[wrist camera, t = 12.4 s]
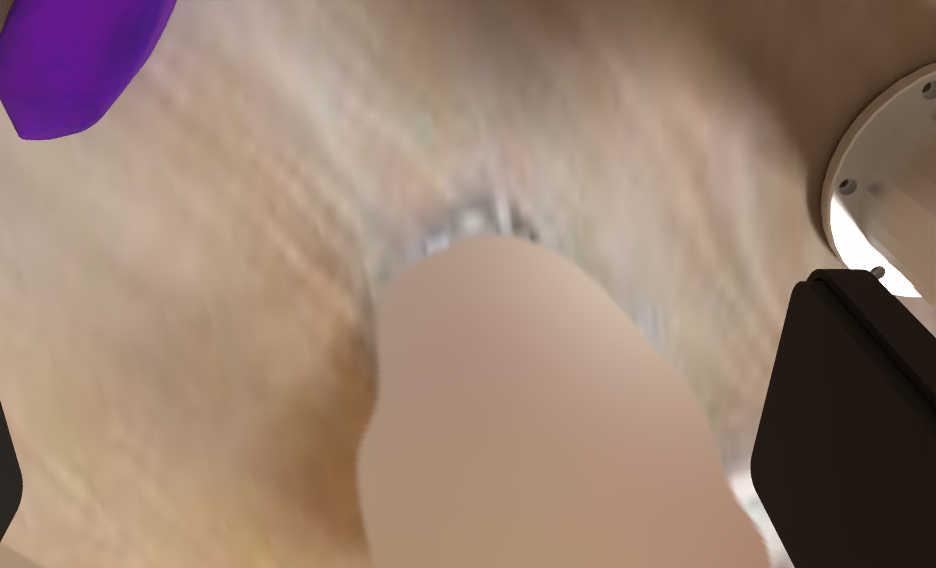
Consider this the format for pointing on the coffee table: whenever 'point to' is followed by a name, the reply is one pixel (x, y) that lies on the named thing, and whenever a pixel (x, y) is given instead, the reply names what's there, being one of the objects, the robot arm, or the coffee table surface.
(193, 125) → the coffee table surface
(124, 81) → the purple petal shape
